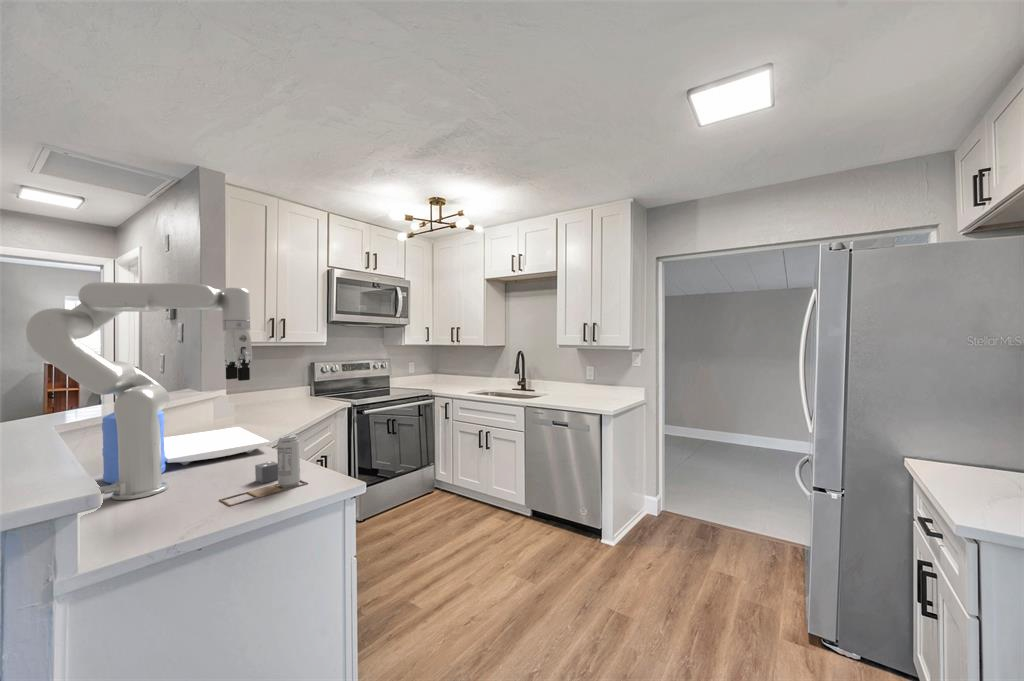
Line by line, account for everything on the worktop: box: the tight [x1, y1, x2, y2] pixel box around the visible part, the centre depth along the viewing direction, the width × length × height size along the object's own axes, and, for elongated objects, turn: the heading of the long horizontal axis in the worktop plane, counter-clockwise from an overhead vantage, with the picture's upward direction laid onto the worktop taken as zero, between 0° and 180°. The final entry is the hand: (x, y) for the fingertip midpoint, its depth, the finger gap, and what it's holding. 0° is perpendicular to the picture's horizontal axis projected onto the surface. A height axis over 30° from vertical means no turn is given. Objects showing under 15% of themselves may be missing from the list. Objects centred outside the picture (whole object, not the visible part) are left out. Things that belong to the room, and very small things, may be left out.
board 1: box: [164, 426, 271, 466], centre depth 173 cm, size 45×32×5 cm
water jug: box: [101, 410, 167, 484], centre depth 141 cm, size 16×16×28 cm
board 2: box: [218, 479, 309, 507], centre depth 124 cm, size 21×7×1 cm, turn 143°
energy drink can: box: [276, 434, 301, 489], centre depth 130 cm, size 6×6×15 cm
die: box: [254, 461, 278, 484], centre depth 135 cm, size 5×5×5 cm
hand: (237, 379), depth 135 cm, fingers open, 9 cm apart
